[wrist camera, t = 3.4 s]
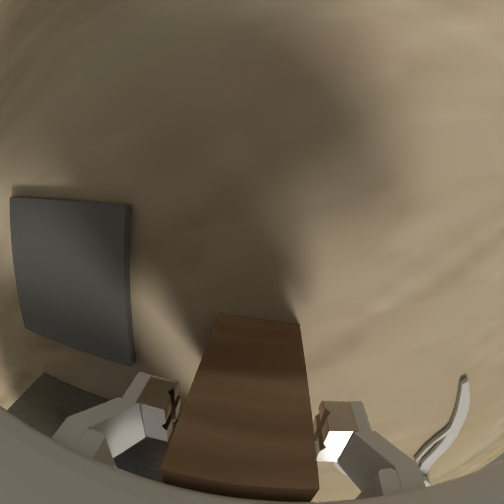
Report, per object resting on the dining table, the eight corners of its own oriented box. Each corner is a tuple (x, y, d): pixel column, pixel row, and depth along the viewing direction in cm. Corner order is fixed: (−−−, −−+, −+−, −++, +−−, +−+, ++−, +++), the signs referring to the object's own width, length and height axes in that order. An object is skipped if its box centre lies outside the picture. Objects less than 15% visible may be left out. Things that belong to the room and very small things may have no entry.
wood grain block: (219, 313, 12) (160, 468, 5) (299, 324, 12) (319, 488, 5) (214, 374, 13) (172, 516, 6) (285, 384, 13) (286, 532, 6)
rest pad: (15, 196, 12) (9, 197, 11) (130, 204, 11) (125, 206, 11) (30, 324, 14) (25, 328, 13) (134, 361, 14) (131, 366, 13)
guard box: (43, 373, 15) (-21, 441, 7) (223, 429, 14) (198, 549, 7) (85, 468, 18) (54, 523, 11) (215, 508, 18) (202, 577, 10)
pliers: (477, 387, 11) (461, 479, 14) (466, 372, 13) (456, 468, 16) (324, 456, 13) (364, 520, 16) (321, 437, 15) (362, 508, 18)
